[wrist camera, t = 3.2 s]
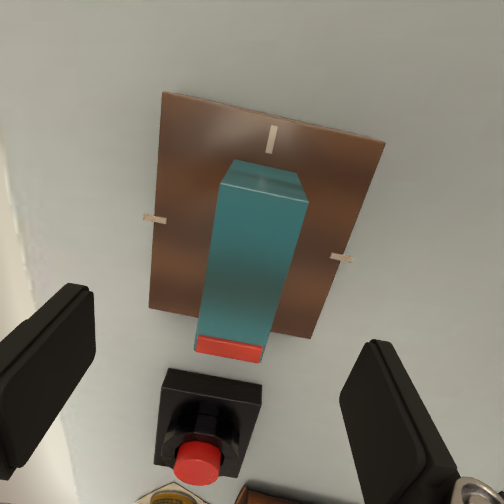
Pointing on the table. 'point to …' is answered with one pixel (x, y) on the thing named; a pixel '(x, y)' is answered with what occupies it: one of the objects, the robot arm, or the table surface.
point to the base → (206, 194)
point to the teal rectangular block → (248, 259)
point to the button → (197, 463)
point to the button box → (206, 417)
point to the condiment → (170, 496)
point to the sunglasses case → (259, 498)
